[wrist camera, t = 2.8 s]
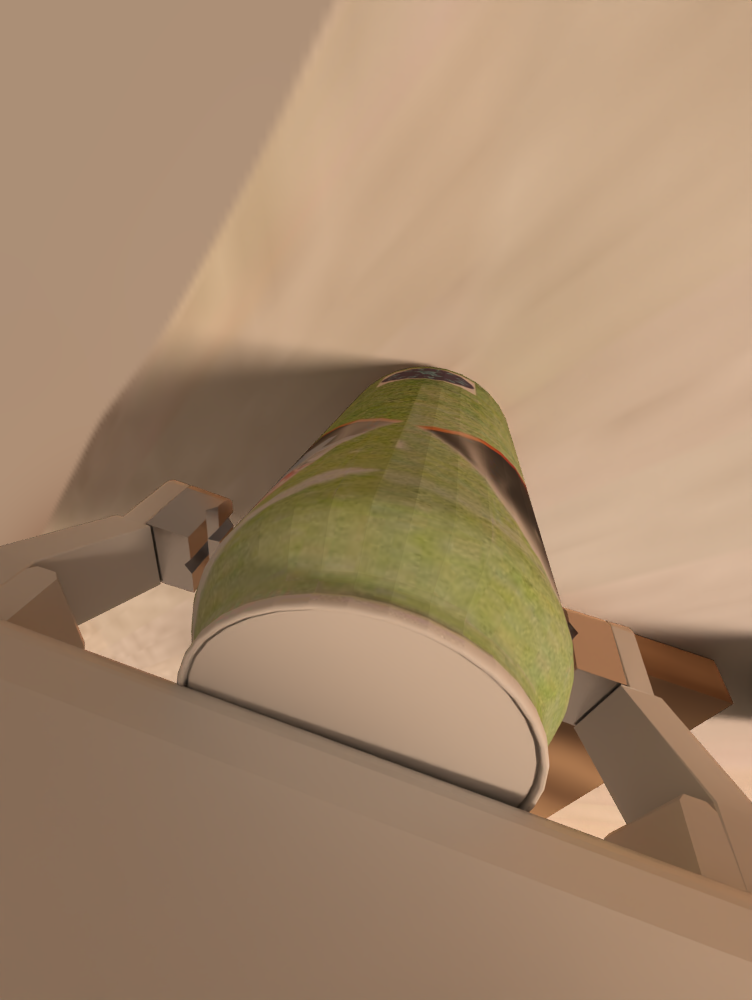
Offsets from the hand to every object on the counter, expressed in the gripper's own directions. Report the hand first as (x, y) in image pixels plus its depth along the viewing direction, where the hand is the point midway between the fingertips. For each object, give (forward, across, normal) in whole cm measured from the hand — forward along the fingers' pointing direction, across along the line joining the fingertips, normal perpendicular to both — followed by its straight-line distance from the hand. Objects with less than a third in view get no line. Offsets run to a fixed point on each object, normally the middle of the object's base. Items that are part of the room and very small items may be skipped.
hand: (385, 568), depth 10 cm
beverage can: (+7, 0, -1) cm, 7 cm away
